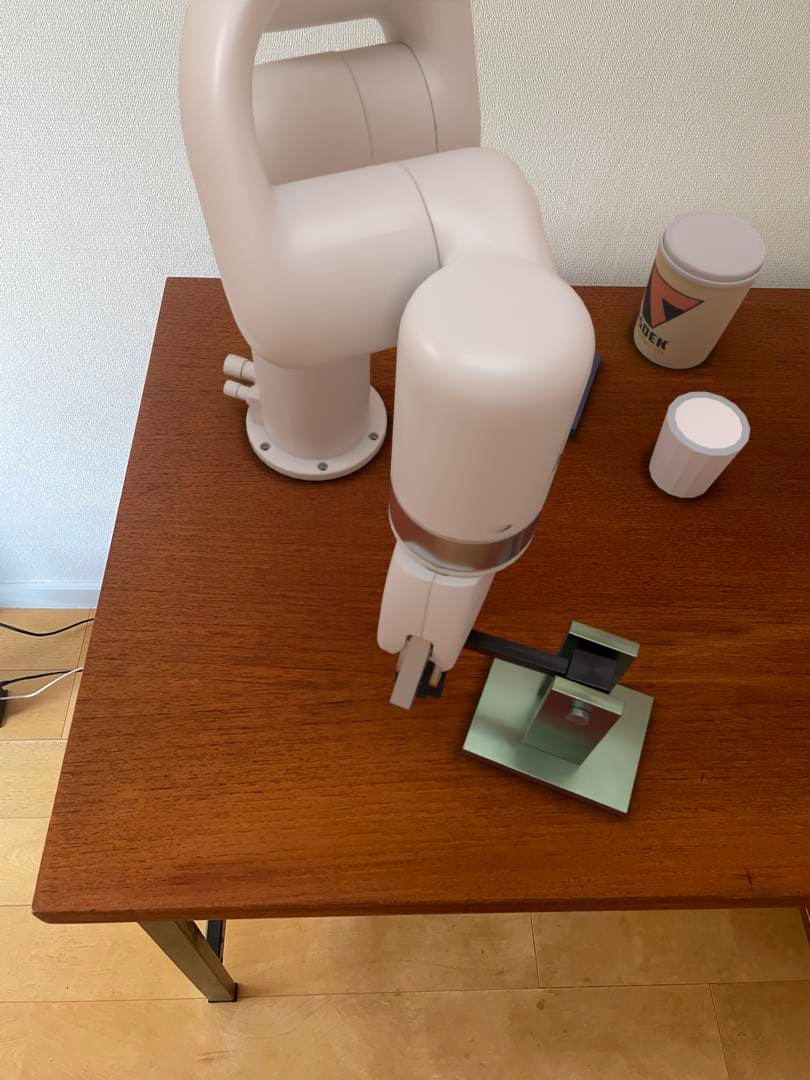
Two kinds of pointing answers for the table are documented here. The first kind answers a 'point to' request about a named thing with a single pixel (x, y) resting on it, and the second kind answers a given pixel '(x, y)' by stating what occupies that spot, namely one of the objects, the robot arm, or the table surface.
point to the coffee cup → (696, 286)
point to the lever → (547, 661)
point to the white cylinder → (697, 443)
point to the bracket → (565, 725)
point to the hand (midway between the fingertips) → (436, 642)
